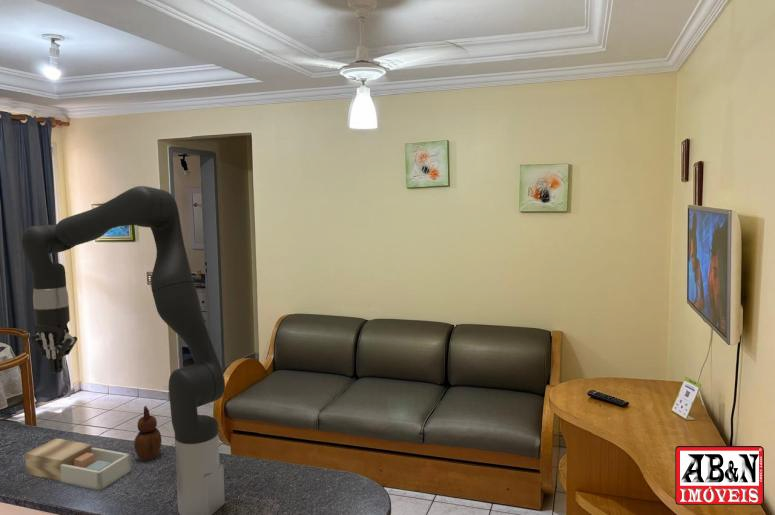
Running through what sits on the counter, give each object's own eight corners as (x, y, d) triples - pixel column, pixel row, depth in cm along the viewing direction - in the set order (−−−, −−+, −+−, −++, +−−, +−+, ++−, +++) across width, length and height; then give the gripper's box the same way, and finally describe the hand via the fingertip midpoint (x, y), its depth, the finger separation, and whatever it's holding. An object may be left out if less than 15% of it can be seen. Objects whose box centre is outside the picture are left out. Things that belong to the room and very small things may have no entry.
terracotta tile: (88, 467, 142) (95, 468, 141) (74, 474, 138) (82, 476, 138) (87, 452, 142) (94, 454, 141) (73, 459, 138) (81, 461, 137)
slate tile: (98, 460, 141) (98, 469, 141) (85, 467, 137) (86, 477, 137) (110, 462, 139) (111, 471, 140) (98, 470, 136) (99, 479, 136)
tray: (131, 470, 141) (130, 454, 141) (100, 490, 132) (99, 473, 131) (94, 463, 145) (93, 447, 144) (61, 482, 135) (60, 465, 135)
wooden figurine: (150, 464, 145) (148, 409, 143) (131, 461, 146) (128, 407, 144) (166, 452, 151) (163, 399, 150) (147, 450, 153) (144, 398, 151)
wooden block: (92, 464, 144) (91, 444, 144) (63, 481, 136) (61, 460, 135) (57, 457, 148) (56, 438, 147) (26, 473, 140) (25, 453, 139)
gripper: (84, 303, 139) (89, 370, 141) (44, 300, 143) (49, 365, 145) (59, 309, 132) (64, 379, 134) (17, 306, 136) (22, 374, 138)
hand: (56, 372), depth 140 cm, fingers closed
